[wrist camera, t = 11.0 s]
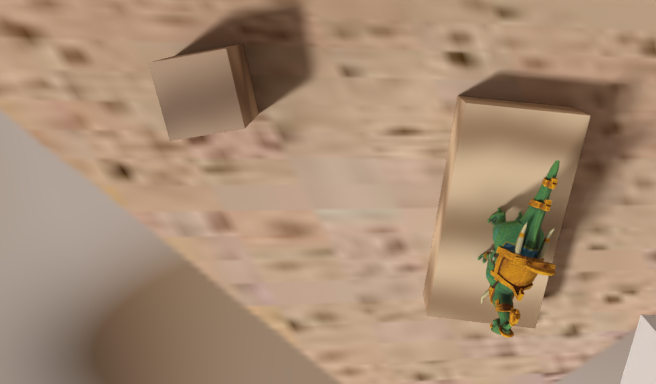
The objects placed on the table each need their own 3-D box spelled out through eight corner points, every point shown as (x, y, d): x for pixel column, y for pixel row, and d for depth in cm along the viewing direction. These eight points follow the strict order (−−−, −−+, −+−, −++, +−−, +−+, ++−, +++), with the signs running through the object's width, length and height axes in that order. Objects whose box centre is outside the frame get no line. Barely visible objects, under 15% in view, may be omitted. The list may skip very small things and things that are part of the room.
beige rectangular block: (457, 95, 37) (465, 102, 34) (572, 107, 37) (590, 115, 34) (423, 295, 42) (427, 316, 40) (523, 306, 42) (535, 328, 39)
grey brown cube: (175, 55, 37) (148, 62, 33) (243, 43, 37) (226, 48, 32) (193, 124, 39) (170, 141, 34) (258, 113, 38) (244, 128, 34)
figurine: (459, 292, 39) (483, 363, 31) (509, 135, 35) (552, 172, 27) (500, 301, 39) (535, 374, 31) (555, 145, 35) (610, 184, 27)
